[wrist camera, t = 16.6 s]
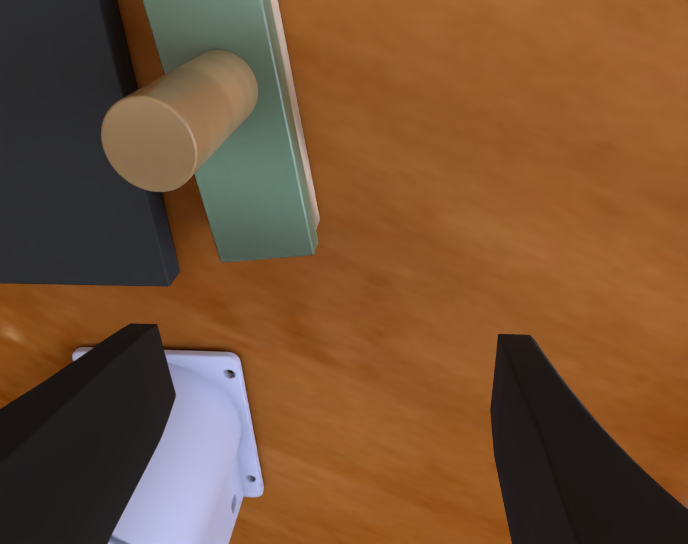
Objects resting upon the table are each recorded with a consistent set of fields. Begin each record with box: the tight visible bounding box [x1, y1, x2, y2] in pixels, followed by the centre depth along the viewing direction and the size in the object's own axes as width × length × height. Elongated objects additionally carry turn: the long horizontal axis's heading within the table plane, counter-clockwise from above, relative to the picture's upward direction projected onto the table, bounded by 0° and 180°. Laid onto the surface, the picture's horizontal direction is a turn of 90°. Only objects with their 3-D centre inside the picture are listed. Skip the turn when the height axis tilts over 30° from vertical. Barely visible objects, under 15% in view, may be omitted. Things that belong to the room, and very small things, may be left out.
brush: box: [101, 0, 320, 262], centre depth 16 cm, size 12×4×8 cm, turn 9°
